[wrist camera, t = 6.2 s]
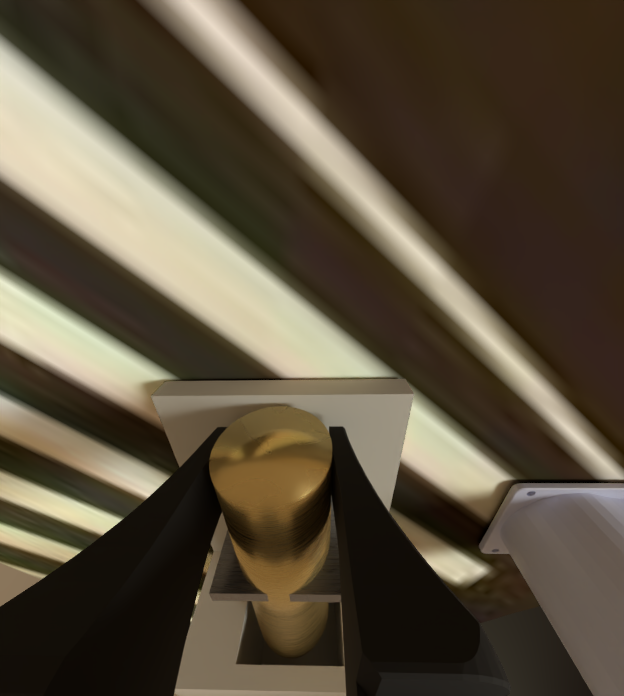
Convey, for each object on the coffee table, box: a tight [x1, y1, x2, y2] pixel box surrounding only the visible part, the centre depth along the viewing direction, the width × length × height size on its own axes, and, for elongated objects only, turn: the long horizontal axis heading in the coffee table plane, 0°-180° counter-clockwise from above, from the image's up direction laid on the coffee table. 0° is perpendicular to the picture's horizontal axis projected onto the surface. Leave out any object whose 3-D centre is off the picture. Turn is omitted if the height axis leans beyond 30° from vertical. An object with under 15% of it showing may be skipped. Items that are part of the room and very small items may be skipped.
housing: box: [151, 379, 414, 696], centre depth 14 cm, size 12×24×7 cm, turn 1°
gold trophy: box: [209, 406, 341, 659], centre depth 12 cm, size 6×14×4 cm, turn 1°
